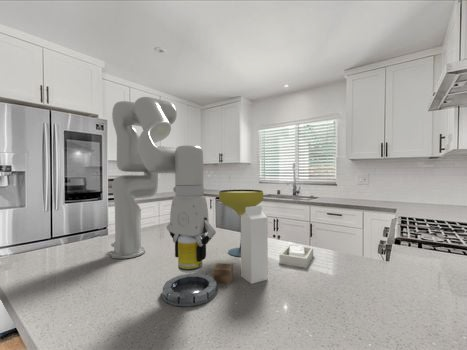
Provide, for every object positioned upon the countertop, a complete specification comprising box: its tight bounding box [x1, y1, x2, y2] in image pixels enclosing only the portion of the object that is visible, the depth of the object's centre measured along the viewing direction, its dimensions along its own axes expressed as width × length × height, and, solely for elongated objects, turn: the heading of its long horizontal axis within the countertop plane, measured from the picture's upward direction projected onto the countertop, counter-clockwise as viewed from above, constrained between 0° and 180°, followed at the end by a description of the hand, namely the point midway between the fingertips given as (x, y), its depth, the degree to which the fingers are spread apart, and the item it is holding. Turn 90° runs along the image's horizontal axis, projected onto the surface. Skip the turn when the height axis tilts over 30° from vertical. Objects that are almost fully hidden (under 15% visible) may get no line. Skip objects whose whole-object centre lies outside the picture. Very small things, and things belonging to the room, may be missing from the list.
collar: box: [161, 273, 218, 308], centre depth 65 cm, size 15×15×2 cm
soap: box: [289, 245, 305, 258], centre depth 90 cm, size 9×6×3 cm, turn 166°
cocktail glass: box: [218, 189, 265, 258], centre depth 98 cm, size 18×18×25 cm
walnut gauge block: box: [213, 262, 234, 284], centre depth 73 cm, size 5×5×4 cm
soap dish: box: [279, 244, 314, 269], centre depth 90 cm, size 9×13×3 cm
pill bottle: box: [177, 235, 203, 274], centre depth 65 cm, size 6×6×12 cm
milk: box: [240, 205, 269, 285], centre depth 74 cm, size 6×6×22 cm
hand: (190, 257), depth 65 cm, fingers closed on pill bottle, 6 cm apart
